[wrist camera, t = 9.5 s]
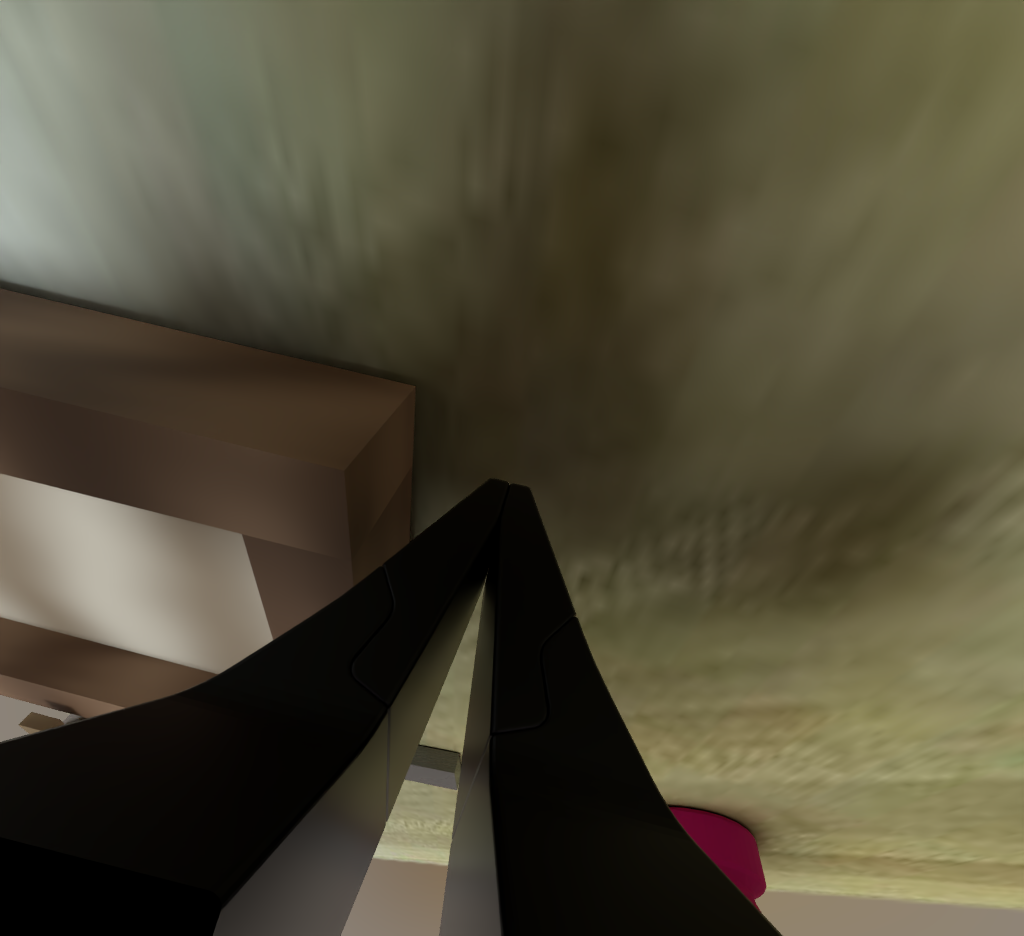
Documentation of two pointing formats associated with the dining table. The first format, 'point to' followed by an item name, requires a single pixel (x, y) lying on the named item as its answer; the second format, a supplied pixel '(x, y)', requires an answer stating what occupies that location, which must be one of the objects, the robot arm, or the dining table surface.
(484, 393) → the dining table surface
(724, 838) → the pepper mill
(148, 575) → the picture frame
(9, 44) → the dining table surface
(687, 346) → the dining table surface
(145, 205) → the dining table surface
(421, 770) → the strip
